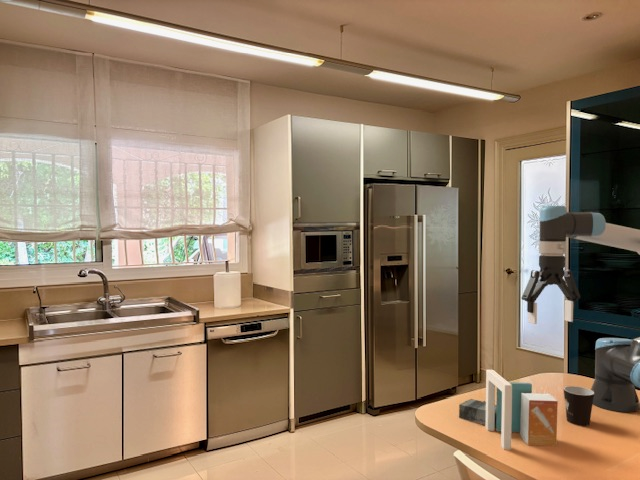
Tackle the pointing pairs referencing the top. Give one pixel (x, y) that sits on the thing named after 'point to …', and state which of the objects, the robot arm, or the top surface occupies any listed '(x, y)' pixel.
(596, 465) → the top surface
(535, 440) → the small box
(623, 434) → the top surface
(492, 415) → the door frame
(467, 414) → the stone block
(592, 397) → the coffee mug
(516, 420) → the door leaf
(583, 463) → the top surface
